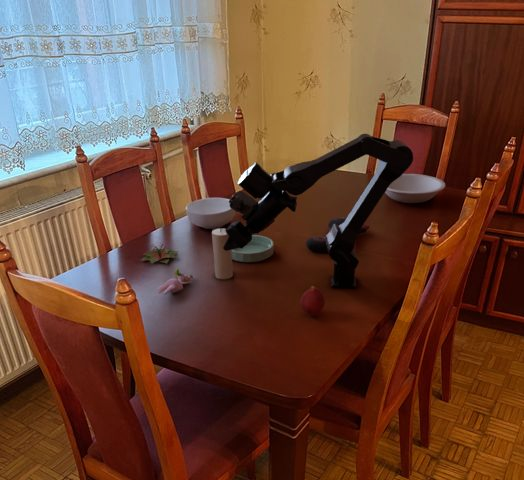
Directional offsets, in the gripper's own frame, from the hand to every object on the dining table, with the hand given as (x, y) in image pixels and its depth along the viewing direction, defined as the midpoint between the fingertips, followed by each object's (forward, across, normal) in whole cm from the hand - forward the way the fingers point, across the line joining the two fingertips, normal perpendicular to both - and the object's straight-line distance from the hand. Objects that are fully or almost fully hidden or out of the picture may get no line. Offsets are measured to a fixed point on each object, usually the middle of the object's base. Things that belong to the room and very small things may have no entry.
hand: (232, 243), depth 147 cm
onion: (-12, +12, +27) cm, 32 cm away
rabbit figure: (+15, +13, 0) cm, 20 cm away
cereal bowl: (+26, -34, -11) cm, 44 cm away
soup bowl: (-15, -83, +29) cm, 89 cm away
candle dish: (+9, -16, +5) cm, 20 cm away
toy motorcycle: (-7, -36, +22) cm, 42 cm away
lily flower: (+27, -4, -12) cm, 29 cm away
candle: (+10, 0, +5) cm, 11 cm away
